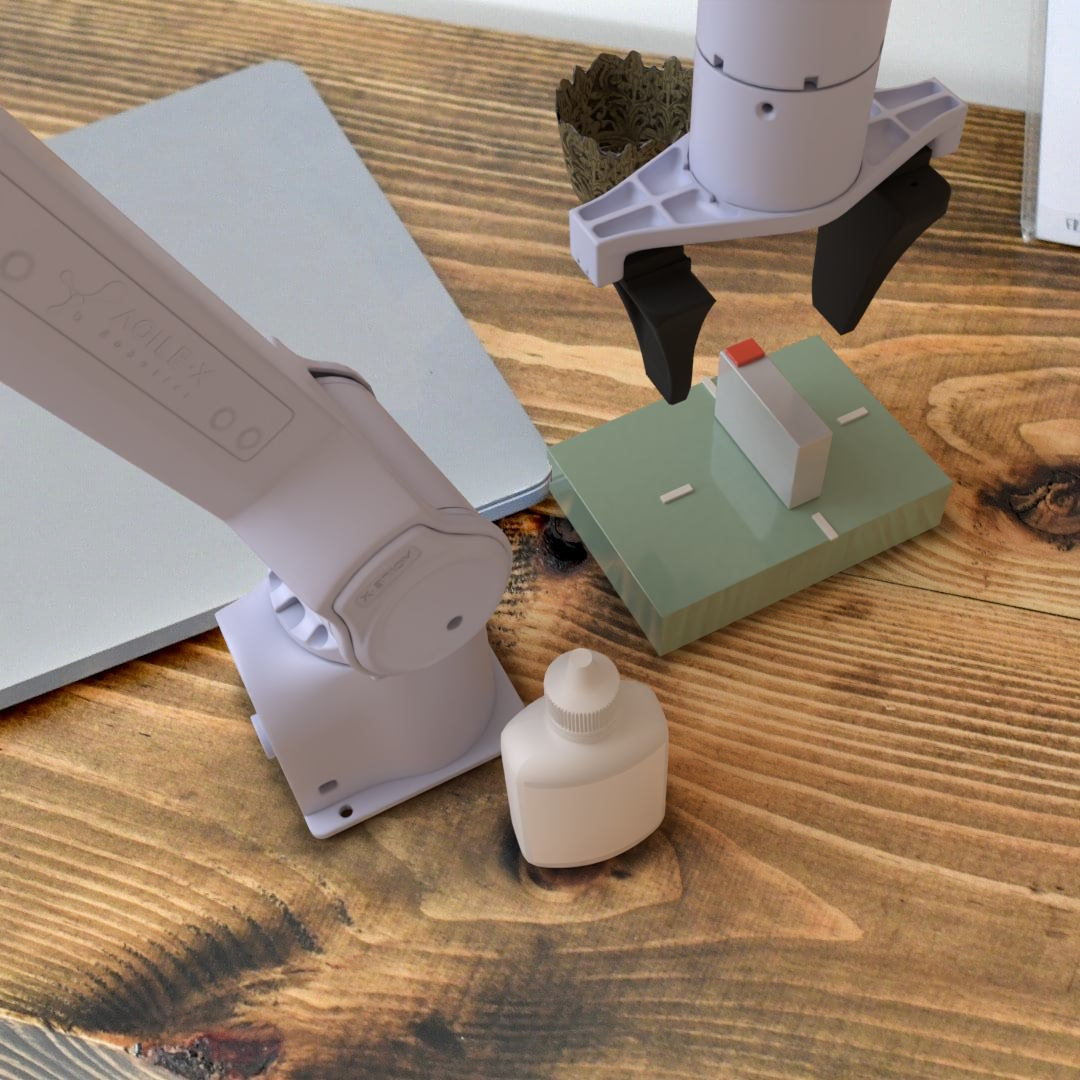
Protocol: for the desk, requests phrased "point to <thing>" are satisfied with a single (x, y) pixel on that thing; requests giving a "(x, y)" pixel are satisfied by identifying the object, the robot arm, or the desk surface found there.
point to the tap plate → (739, 501)
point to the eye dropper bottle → (585, 764)
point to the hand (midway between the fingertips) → (750, 351)
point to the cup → (619, 118)
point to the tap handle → (772, 423)
